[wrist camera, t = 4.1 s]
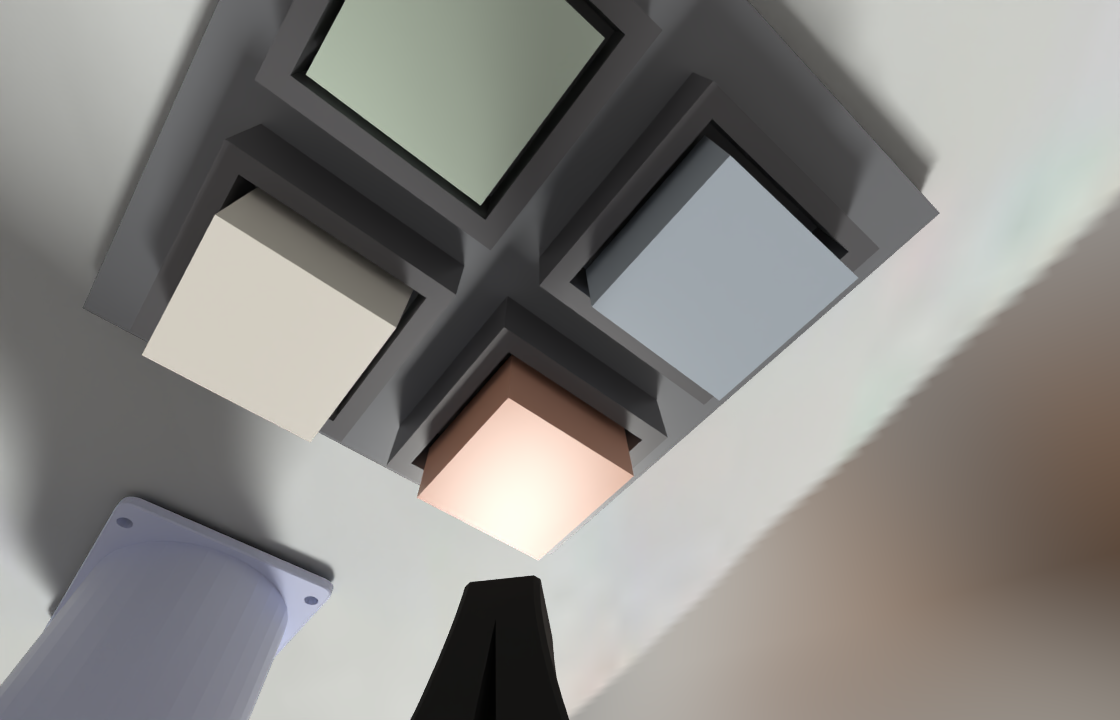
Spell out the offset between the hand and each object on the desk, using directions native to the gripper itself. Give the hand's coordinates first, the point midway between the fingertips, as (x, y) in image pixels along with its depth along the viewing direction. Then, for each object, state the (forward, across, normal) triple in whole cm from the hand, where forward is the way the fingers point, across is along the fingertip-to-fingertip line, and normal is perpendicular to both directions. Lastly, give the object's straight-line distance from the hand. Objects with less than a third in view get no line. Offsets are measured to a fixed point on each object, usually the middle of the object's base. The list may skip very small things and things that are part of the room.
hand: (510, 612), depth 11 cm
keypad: (+8, 0, -4) cm, 9 cm away
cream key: (+6, +5, -4) cm, 9 cm away
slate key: (+6, -5, -4) cm, 9 cm away
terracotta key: (+6, 0, +1) cm, 6 cm away
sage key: (+7, 0, -9) cm, 12 cm away
